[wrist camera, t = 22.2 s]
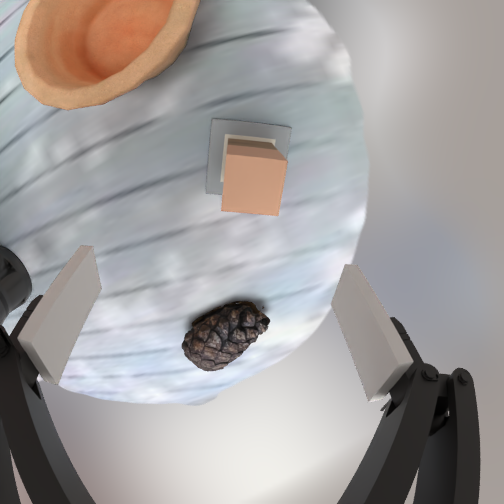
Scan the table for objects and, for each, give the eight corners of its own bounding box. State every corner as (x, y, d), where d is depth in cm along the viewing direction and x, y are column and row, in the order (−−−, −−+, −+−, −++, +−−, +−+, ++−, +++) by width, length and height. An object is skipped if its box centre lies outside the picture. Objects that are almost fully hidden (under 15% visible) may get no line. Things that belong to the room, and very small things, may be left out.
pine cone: (274, 309, 54) (282, 348, 46) (212, 349, 59) (211, 386, 51) (238, 278, 50) (240, 318, 41) (175, 326, 55) (169, 364, 46)
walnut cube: (265, 182, 40) (271, 196, 35) (224, 179, 39) (222, 192, 34) (271, 142, 37) (278, 150, 31) (228, 138, 36) (227, 145, 31)
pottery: (241, 6, 26) (246, -37, 14) (153, 127, 35) (115, 143, 23) (124, -38, 19) (88, -74, 7) (50, 76, 28) (-9, 80, 15)
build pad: (278, 197, 42) (279, 200, 41) (206, 191, 41) (205, 193, 40) (290, 127, 37) (291, 128, 36) (212, 118, 35) (211, 119, 34)
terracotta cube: (270, 196, 35) (278, 216, 29) (222, 192, 34) (221, 211, 29) (278, 150, 31) (287, 161, 26) (227, 144, 31) (226, 154, 26)
